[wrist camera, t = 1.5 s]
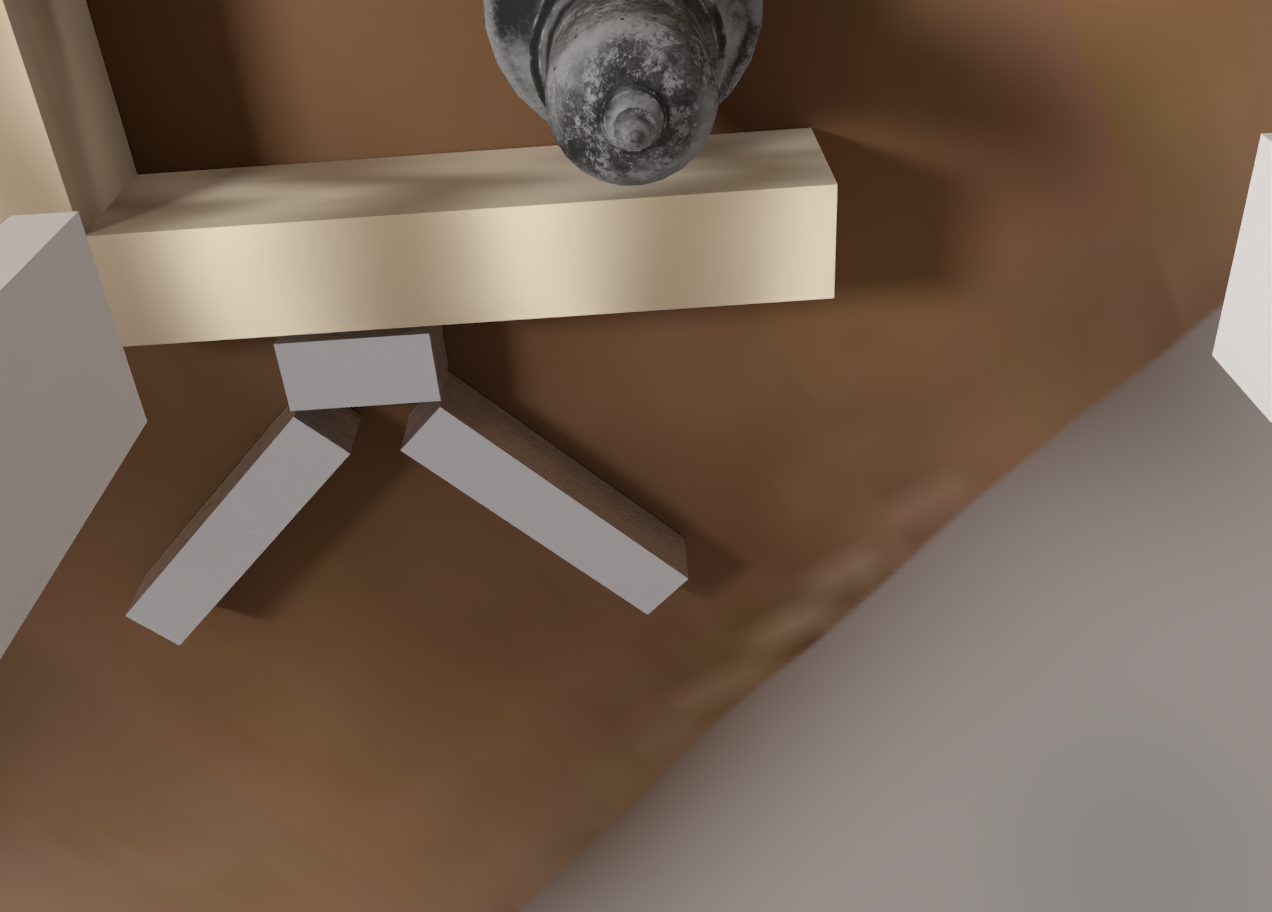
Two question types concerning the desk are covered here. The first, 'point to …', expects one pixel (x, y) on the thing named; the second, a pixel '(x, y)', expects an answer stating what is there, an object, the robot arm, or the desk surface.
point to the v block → (434, 437)
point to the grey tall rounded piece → (625, 75)
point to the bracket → (393, 219)
